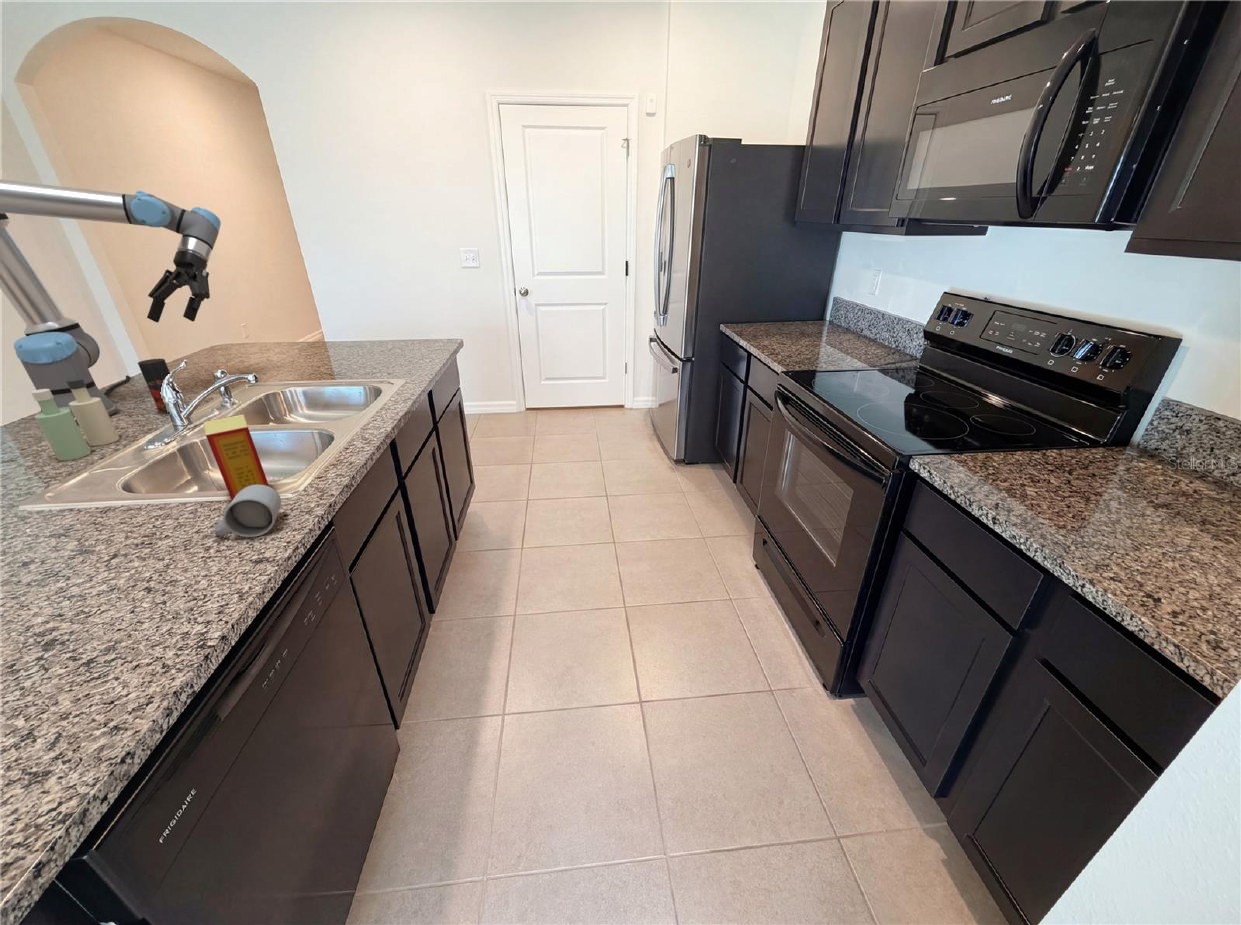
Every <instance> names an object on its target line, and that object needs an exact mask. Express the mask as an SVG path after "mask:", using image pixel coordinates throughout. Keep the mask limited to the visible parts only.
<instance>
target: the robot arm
mask: <svg viewBox="0 0 1241 925" xmlns="http://www.w3.org/2000/svg"><path fill="white" fill-rule="evenodd" d="M7 214H13V215H25V216H38V217H48V218H59V219H68V220H81V221H92V222H101V223H113V224H123V225H124V224H125V225H134V226H142V227H150V228H163V229H166V230H169V231H171V232H173V233H176V234H178V235H181V237H180V240H179V243H178V246H177V248H176V250H177V251H176V252H175V255H174V256H173V259H172V263H173V264H174V266H175V268H174V270H173V271H172V270H170V269H168V268H167V269H165V271H164V273H163V275H162V276H161V278H160V279H159V280H158V282H156V284H155V285H154V287H153V288H152V289H151V290H150V291H149V293H148V294H147V297H149V298H151V299H152V302H151V305H150V308H149V311H148V312H147V316H146V318H147V319H149V320H150V321H152V322H155V323H159V322H160V319H161V317H162V314H163V311H164V308H165V305H166V304H167V303H166V302H165V301H166V300H167V299H169V297H171V296H172V294H174V292H176V291H177V290H178V289H182V288H183V287H185V286H187V287H188V288H189V290H190V293H189V294H190V296H189V298H188V301H187V304H186V306H185V309H184V312H183V315H182V317H183V318H185V319H187V320H188V321H191V322H195V321H196V319H197V318H196V317H197V314H198V313H199V310H200V308H201V305H202V302H204V301H205V300H209V299H210V298H211V292H210V285H209V276H210V273H209V271H207V267H208V264H209V261H210V259H211V255H212V252H213V250H214V247H215V245H216V242H217V239H218V236H219V232H220V228H221V225H222V222H221V219H220V218H219V216H217V214H216V213H214V212H212V211H211V210H209V209H207V208H201V207H199V206H195V207H192V209H191V210H188V209H185V208H182V207H180V206H178V205H175V204H174V203H171V202H169V201H166V200H164V199H162V198H160V197H158V196H156V195H155V194H151V193H147V192H145V191H143V190H137V191H135V193H134V194H129V193H128V194H127V193H121V192H113V191H112V192H111V191H103V190H94V189H88V188H87V189H86V188H78V187H70V186H69V187H68V186H60V185H52V184H45V183H44V184H43V183H35V182H28V181H27V182H25V181H17V180H9V179H0V290H1V292H2V293H3V294H4V296H5V297H6V299H7V300H8V301H9V303H10V304H11V305H12V307H13V308H14V310H15V311H16V312H17V314H18V315H19V316H20V318H21V319H22V321H23V323H25V325H26V327H25V328H24V331H23V334H24V335H25V336H23V337H19V338H18V339H17V340H16V341H14V343H13V348H14V351H15V354H16V358H18V359H19V361H20V363H21V365H22V366H23V368H24V370H25V372H26V374H27V376H28V377H29V379H30V381H31V382H32V386H34V388H35V390H40V389H50V391H51V393H52V395H53V397H54V398H53V399H54V401H55V403H56V405H57V407H58V409H69V410H70V412H71V414H72V416H73V418H74V420H75V422H76V424H77V425H79V423H78V422H77V420H76V418H75V416H74V414H73V412H72V410H71V408H70V406H69V403H70V402H73V401H76V398H75V396H74V394H73V392H72V390H71V389H69V387H68V385H67V383H66V381H67V380H70V379H75V378H82V379H83V380H84V382H85V384H86V389H87V391H88V393H89V395H90V397H91V398H95V397H96V398H101V400H102V402H103V405H104V407H105V409H106V411H107V413H108V415H109V417H110V416H113V415H114V414H116V413H117V412H118V409H117V407H116V405H115V404H114V403H113V402H112V400H111V399H109V397H108V396H107V395H109V393H110V392H111V391H112V390H113V389H115V388H117V387H119V386H122V385H124V384H126V383H128V382H129V380H130V379H131V376H130V375H128V374H126V375H125V379H124V380H122V381H120V382H121V383H120V382H118V383H115V384H113V385H111V386H110V387H109V388H107V389H106V390H105V392H102V390H101V389H100V388H99V387H98V386H97V384H96V382H95V380H94V377H93V375H92V374H91V372H90V368H92V367H93V366H94V365H96V363H98V360H99V358H100V355H101V349H100V346H99V343H98V342H97V341H96V339H95V338H94V337H93V336H92V335H90V334H89V333H87V332H85V330H84V329H83V327H82V326H81V325H80V323H79V322H78V320H76V319H73V318H71V317H68V316H67V315H66V313H65V312H64V311H63V309H62V308H61V305H59V303H58V302H57V300H56V299H55V297H54V295H53V294H52V292H51V291H50V290H49V288H48V286H47V285H46V284H45V282H44V281H43V280H42V278H41V276H40V275H39V274H38V272H37V271H36V269H35V268H34V266H33V265H32V263H31V262H30V260H29V258H28V257H27V256H26V254H25V253H24V251H23V250H22V248H21V247H20V245H19V244H18V242H17V240H15V239H16V238H14V236H13V234H11V232H10V230H9V229H8V227H9V224H10V222H11V219H10V218H9V216H8V215H7ZM40 413H43V411H42V410H41V409H40Z"/></svg>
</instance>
